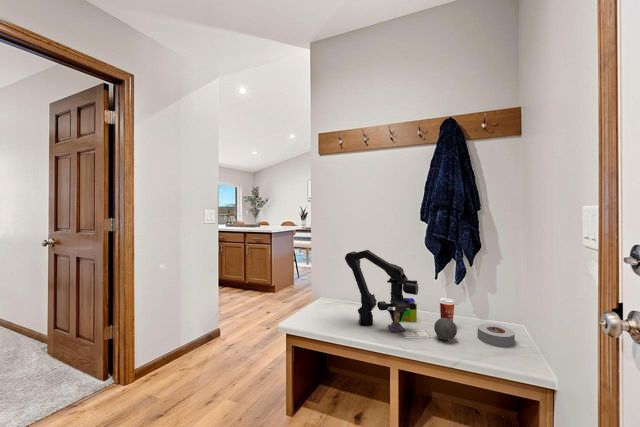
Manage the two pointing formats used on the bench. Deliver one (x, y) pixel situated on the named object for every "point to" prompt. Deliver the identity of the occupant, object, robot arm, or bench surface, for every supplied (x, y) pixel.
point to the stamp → (396, 320)
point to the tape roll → (496, 335)
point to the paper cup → (447, 308)
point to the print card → (416, 334)
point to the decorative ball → (445, 329)
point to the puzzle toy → (410, 313)
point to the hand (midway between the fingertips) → (396, 322)
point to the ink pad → (396, 329)
